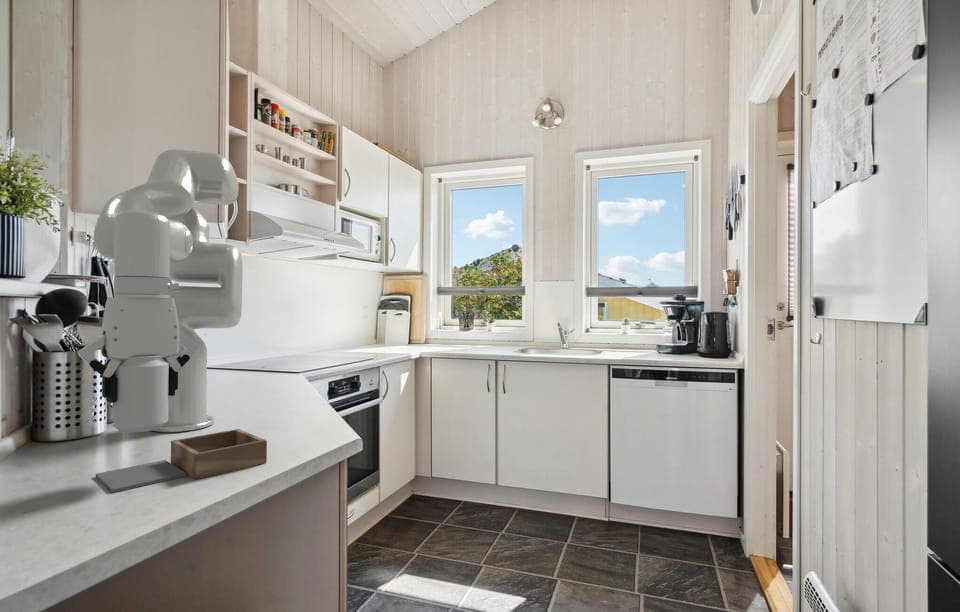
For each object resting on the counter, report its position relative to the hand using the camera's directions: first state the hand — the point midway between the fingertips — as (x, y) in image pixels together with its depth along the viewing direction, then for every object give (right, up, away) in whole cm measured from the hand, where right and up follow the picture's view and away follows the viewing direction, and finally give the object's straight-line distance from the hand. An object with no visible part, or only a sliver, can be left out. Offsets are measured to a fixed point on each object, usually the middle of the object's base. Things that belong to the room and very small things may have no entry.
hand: (141, 397), depth 82 cm
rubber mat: (0, -13, 0) cm, 13 cm away
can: (0, -5, 0) cm, 5 cm away
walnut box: (+9, -13, +7) cm, 17 cm away
